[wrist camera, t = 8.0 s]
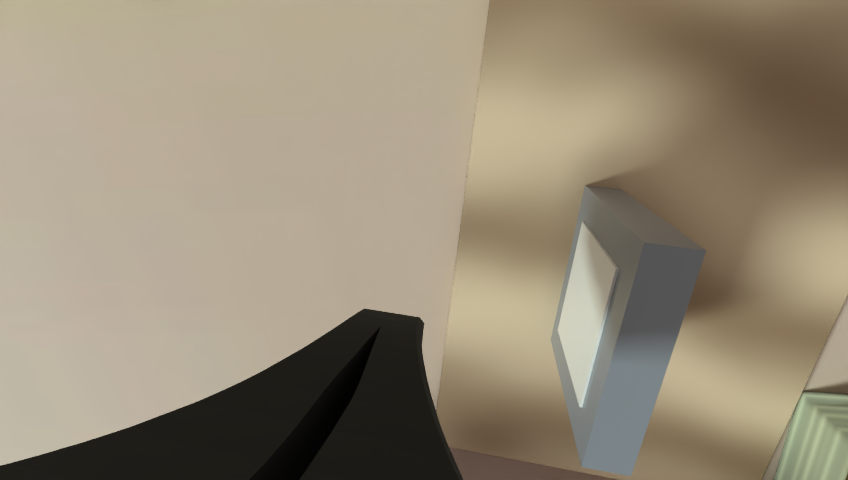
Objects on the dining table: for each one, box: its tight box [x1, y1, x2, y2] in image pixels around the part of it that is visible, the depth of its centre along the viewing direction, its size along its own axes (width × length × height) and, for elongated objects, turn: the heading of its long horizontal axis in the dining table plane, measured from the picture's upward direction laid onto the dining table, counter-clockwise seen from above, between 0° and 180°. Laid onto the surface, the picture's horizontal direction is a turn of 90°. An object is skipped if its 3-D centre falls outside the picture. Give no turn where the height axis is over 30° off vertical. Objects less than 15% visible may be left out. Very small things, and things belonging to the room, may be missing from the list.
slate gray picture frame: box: [551, 185, 706, 476], centre depth 13 cm, size 6×1×6 cm, turn 175°
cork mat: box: [436, 0, 848, 480], centre depth 15 cm, size 18×13×1 cm
